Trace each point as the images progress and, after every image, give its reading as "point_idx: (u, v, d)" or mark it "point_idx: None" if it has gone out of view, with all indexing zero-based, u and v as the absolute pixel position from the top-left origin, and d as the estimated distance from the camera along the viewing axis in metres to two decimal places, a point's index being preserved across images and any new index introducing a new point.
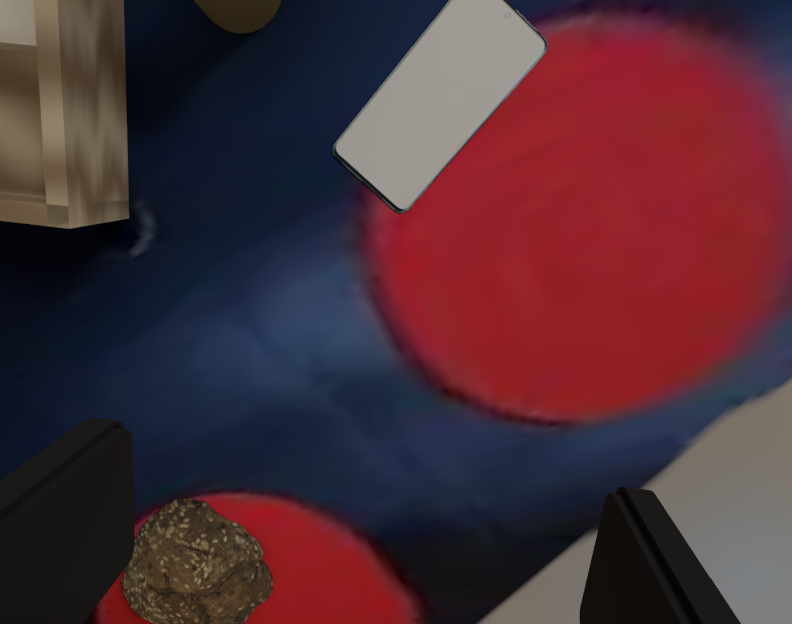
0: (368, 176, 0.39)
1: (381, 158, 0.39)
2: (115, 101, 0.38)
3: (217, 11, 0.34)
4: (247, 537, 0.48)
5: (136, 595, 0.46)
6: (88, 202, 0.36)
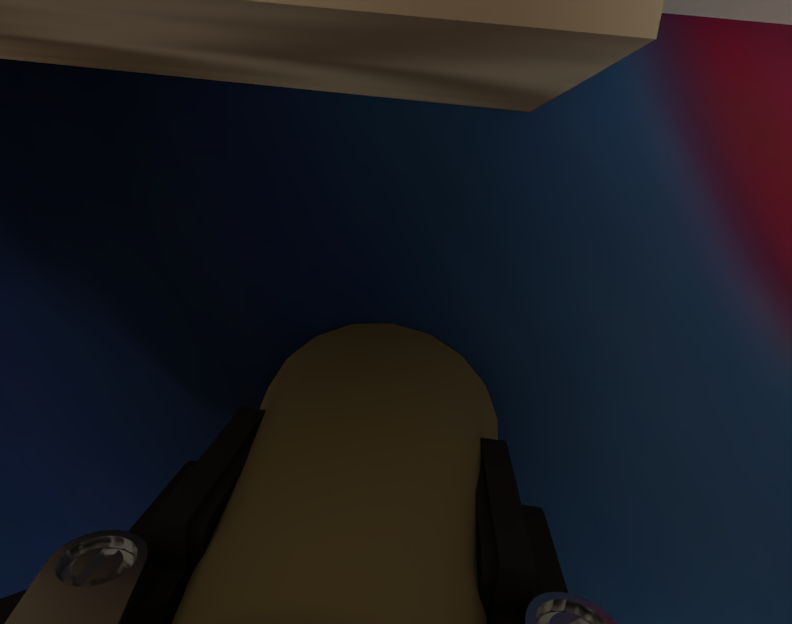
0: None
1: None
2: None
3: None
4: None
5: None
6: None
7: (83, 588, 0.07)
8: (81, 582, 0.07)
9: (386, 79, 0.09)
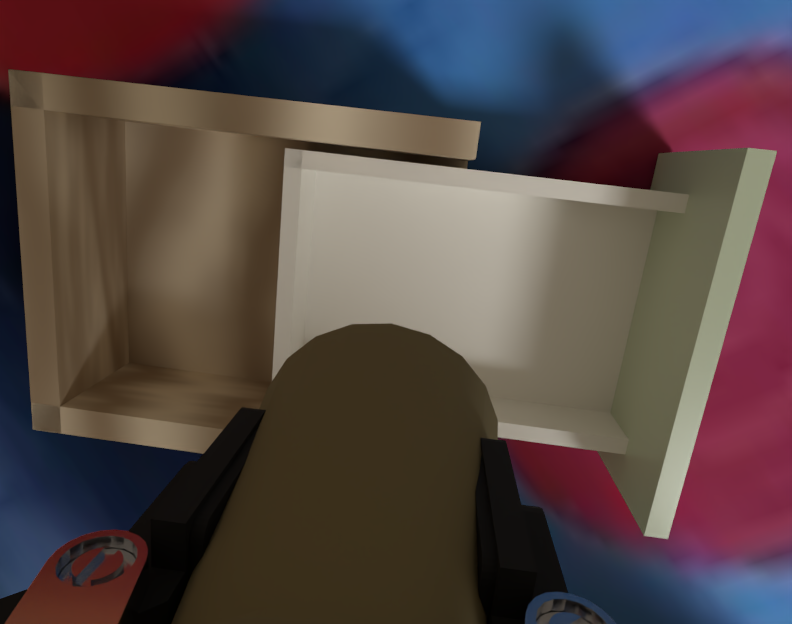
0: None
1: None
2: None
3: None
4: None
5: None
6: None
7: (83, 588, 0.07)
8: (81, 582, 0.07)
9: None
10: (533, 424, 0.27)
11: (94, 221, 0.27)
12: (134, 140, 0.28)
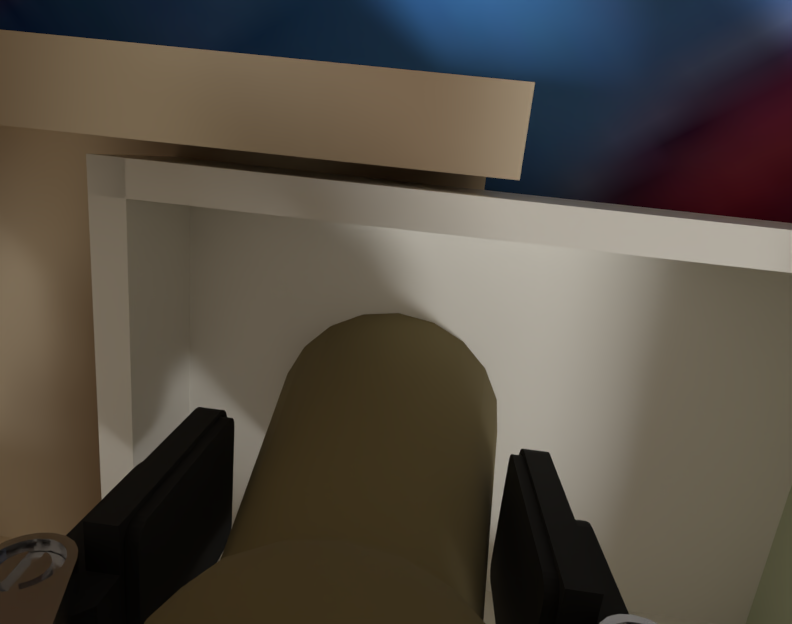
0: None
1: None
2: None
3: None
4: None
5: None
6: None
7: (11, 592, 0.07)
8: (7, 587, 0.07)
9: None
10: None
11: None
12: None
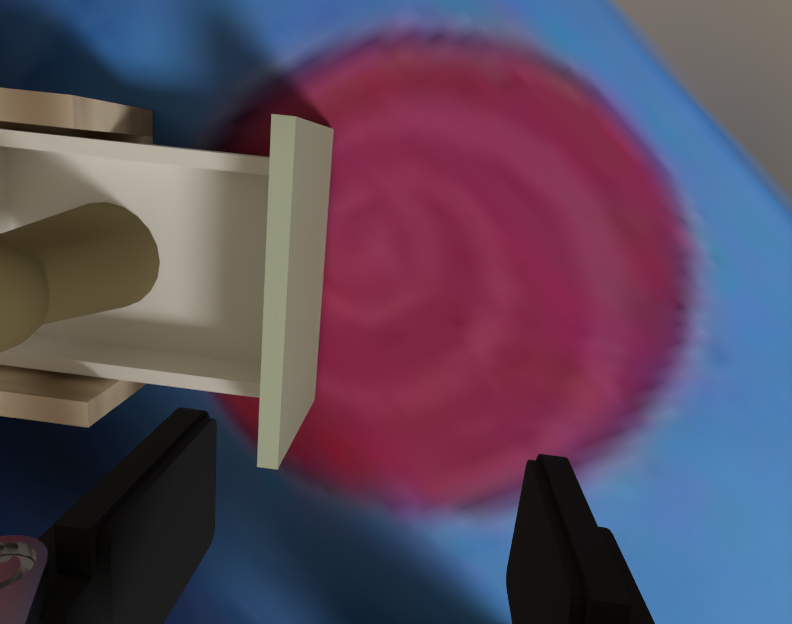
0: None
1: None
2: None
3: None
4: None
5: None
6: None
7: None
8: None
9: None
10: (199, 374, 0.30)
11: None
12: None
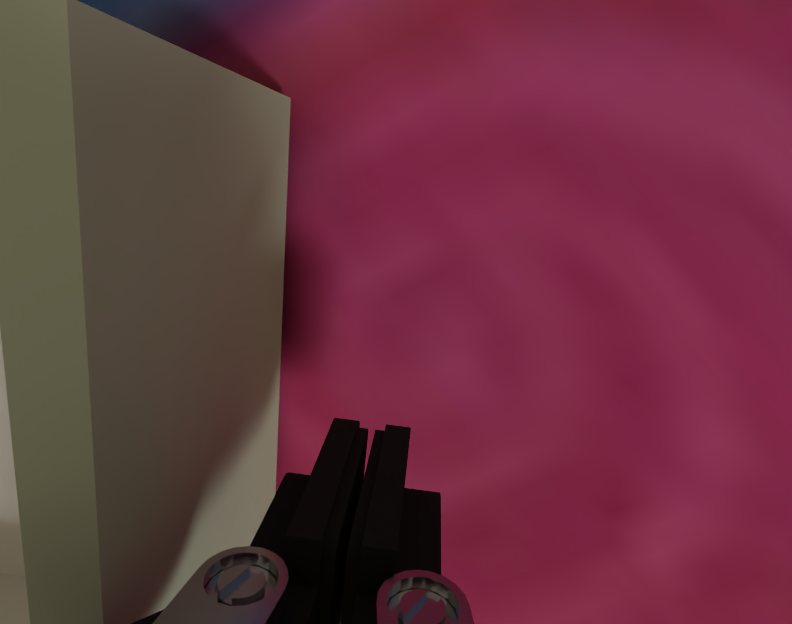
0: None
1: None
2: None
3: None
4: None
5: None
6: None
7: (223, 606, 0.07)
8: (224, 597, 0.07)
9: None
10: None
11: None
12: None
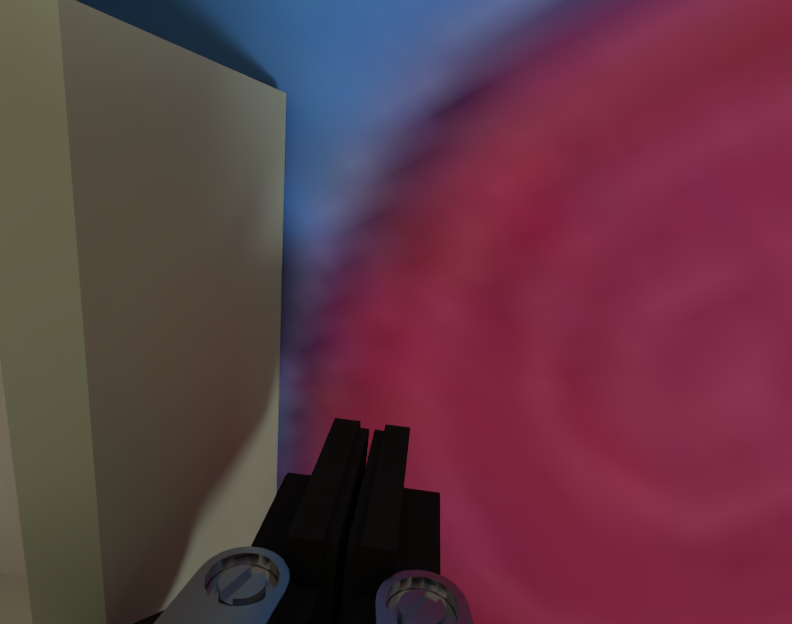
0: None
1: None
2: None
3: None
4: None
5: None
6: None
7: (224, 606, 0.07)
8: (225, 597, 0.07)
9: None
10: None
11: None
12: None
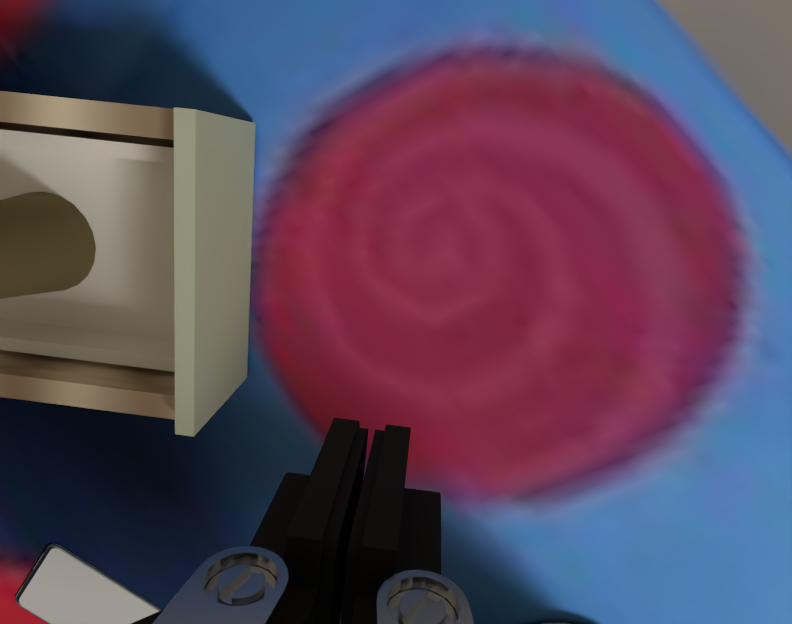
0: (38, 574, 0.42)
1: (56, 584, 0.42)
2: None
3: None
4: None
5: None
6: None
7: (223, 606, 0.07)
8: (224, 597, 0.07)
9: None
10: (129, 351, 0.32)
11: None
12: None
